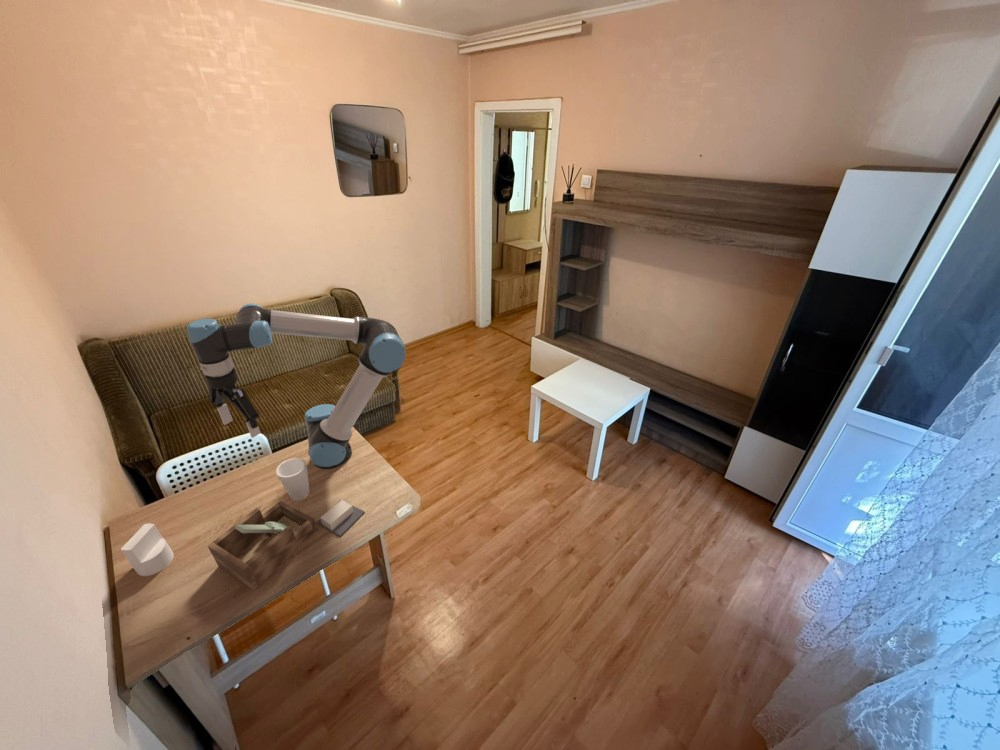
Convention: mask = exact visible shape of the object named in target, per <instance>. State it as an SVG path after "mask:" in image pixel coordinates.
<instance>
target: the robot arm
mask: <svg viewBox="0 0 1000 750" xmlns="http://www.w3.org/2000/svg"><path fill="white" fill-rule="evenodd" d="M186 332H187V335H188V338H189V343H190V345H191V347H192V349H193V351H194V354H195V355H196V358H197V360H198V363H199V365H200V367H199V370H201V371H202V372H203V375H204V378H205V380H206V382H207V386H208V393H209V395H208V396H209V403H210V404H212V405H214V407H215V408H216V410H217V412H218V414H219V417H220V419H221V421H222V424H223V425H224V426H225V425H227V424H229V423H231V422H233V420H234V419H233V417H232V415H231V414H232V413H231V411H230V409H229V407H228V404H227V403H226V399H227V400H228V401H229V403H230V404H232V405H234V406H235V407H236V408H237V410H238V411H239V412H240V414H241V415H242V416H243V417H244V418H245V419H244V423H245V424H246V427H247V430H248V432H249V435H250V437H251V438H252V439H253V438H255V437H257V436H258V435H260V434H261V430H260V427H259V425H258V421H257V419H258V418H259V417H260V414H259V413H258V410H257V409H256V408H255V406H254V405H253V404H252V402H251V400H250V399H249V398H248V396H247V394H246V391H245V389H244V388H240V389H238V387H237V386H236V383H237V382H238V379H239V377H238V374H237V372H236V369H235V368H234V364H233V360H232V358H231V355H230V352H235V351H236V352H238V351H242V350H244V351H245V350H250V349H260V348H263V347H269V346H271V345H272V343H273V334H276V335H289V336H299V337H311V338H319V339H321V338H322V339H333V340H343V341H351V342H353V343H354V344H357V345H363V346H364V348H363V349H362V351H361V353H360V355H359V356H358V363H359V365H358V367H357V369H356V371H355V373H354V374H353V375H352V378H351V379H350V380H349V383H348V384H347V386H346V387H345V389H344V391H343V393H341V394H342V395H341V396H340V397H339V400H338V402H337V403H336V404H335V405H334V404H329V403H325V404H318V405H316V406H313V407H311V408H309V409H307V411H306V412H305V413H304V421H305V422H306V429H307V443H308V451H307V452H308V453H307V454H308V456H309V459H310V461H311V462H312V465H314V467H316V468H318V469H322V470H323V469H324V470H327V469H328V470H329V469H335V468H337V467H340V466H342V465H344V464H345V463H347V462H348V461H349V460H350V459H351V456H352V454H353V451H352V446H351V443H350V441H351V439H352V437H353V432H352V429H353V427H354V425H355V424H356V422H357V420H358V419H359V417H360V416H361V414H362V412H363V410H364V409H365V408H366V405H367V404H368V403H369V400H370V399H371V398H372V396H373V394H374V393H375V391H376V389H377V388H378V385H380V383H381V381H382V379H383V378H385V377H389V376H390V375H391V374H392V373H393V371H398V369H399V368H400V367H401V366H402V365H403V363H404V362H405V360H406V357H407V356H406V354H407V353H406V346H405V344H404V341H403V340H402V338H401V337H400V336H399V333H398V331H397V329H396V327H395V326H394V325H393V324H391V323H390V322H389V321H386V320H383V319H380V318H373V317H366V316H357V315H356V316H355V317H354V318H347V317H339V316H331V315H324V314H323V315H322V314H321V315H320V314H312V313H311V314H310V313H302V312H296V311H294V312H292V311H284V310H275V309H269V308H268V309H267V308H264V307H262V306H261V305H259V304H258V303H252V302H251V303H250V302H249V303H246V304H244V305H242V307H241V308H239V311H238V312H237V315H236V321H235V323H234V324H225V325H220V324H219V323H218V321H217V320H216V319H214V318H201V319H197V320H194V321H191V322H190V323H189V324H187V326H186Z"/></svg>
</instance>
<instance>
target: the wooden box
mask: <svg viewBox="0 0 1000 750" xmlns="http://www.w3.org/2000/svg"><path fill="white" fill-rule="evenodd" d="M283 518H286V519H288V520H290V521H291V522H294V523H295V524H297V525H298V526H299V527H298V528H297V529H295V530H296V531H295V532H293V530H292V528H293V527H291V526H290V525H288V526H287V527H286V528H285V529H284V530H283V531H282V532H281V533H279V534H278V533H277V534H276V536H274V537H273V538H272V539H271V540H270V541H269V542H268V543H267V544H266V545H264V546H263V547H262V548H260V550H258V551H257V552H256V553H255V554H254V555H253V556H252V557H250V558H249V559H248V560H247V561H246V562H245V561H243V560H241V559H239V558H238V557H237V556H239V554H241V553H242V552H243V551H245V549H247V548H248V547H249V546H250V545H252V544H253V543H254V542H255V541H257V540H258V539H259V538H260V537H261V536H263V535H264V534H266V536H267V537H268V538H271V537H272V534H271V533H242V532H240V531H238V530H237V529H235V526H236V525H264V524H265V522H280V520H282V519H283ZM316 522H317V521H316V519H315V518H314V517H312V516H310V515H308V514H306V513H305V512H303V511H302V510H299V509H297V508H296V507H293V506H291V505H290V504H287V503H286V502H284V501H282V500H279V501H278V502H277V503H276V504H274V505H273V506H272V507H270V508H269V509H268V510H266V511H265V512H264V513H263V514H262V512H261V509H259V508H257V507H256V508H255V509H253V511H251V512H250V513H248V514H247V515H246V516H244V517H243V518H242V519H241V520H239V521H238V522H237V523H236V524H234V525H233V526H231V527H230V528H229V529H227V530H226V531H225V532H224V533H222V534H221V535H220V536H219V537H217V538H216V539H215V540H213V541H212V542H211V543H209V544H208V545H207V548H208V549H209V551H210V553H211V555H212V557H213V559H214V561H215V563H216V564H217V566H218V567H219V568H220V569H222V570H224V571H225V572H226V573H228V574H229V575H230V576H232V577H233V578H235V579H237V580H238V581H240V582H241V583H243V584H244V585H246V586H247V587H248V588H250V589H251V590H252V591H254V590H255V589H257V588H258V587H259V586H260V585H261V584H262V583H263V582H264V581H265V580H266V579H267V578H269V577H270V576H271V574H273V573H275V571H276V570H277V569H278V568H279V567H280V566H281V565H282V564H284V563H285V562H286V560H288V559H289V558H290V557H291V556H292V555H293V554H294V553H295V552H297V551H298V549H299V548H300V547H302V546H303V545H304V544H305V543H306V542H307V541H308V540H309V539H311V537H312V536H314V535H315V534H316V533H317V531H319V528H318V524H316Z"/></svg>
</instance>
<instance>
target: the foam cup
mask: <svg viewBox="0 0 1000 750" xmlns="http://www.w3.org/2000/svg"><path fill="white" fill-rule="evenodd" d="M275 473H276V476H277V478H278V481H280V482H281V484H282V486H283V488H284V489H285V491H286V493H287V494H288V496H289V497H290V499H291V500H292V501H294V502H296V501H302V500H304V499H306V498H307V497H308V495H310V485H309V484H310V483H309V475H308V465H307V462H306V461H305V459H303V458H300V457H292V458H289V459H286V460H284V461H282V462H281V463H279V465H278V466H277V467H276V469H275Z"/></svg>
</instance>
